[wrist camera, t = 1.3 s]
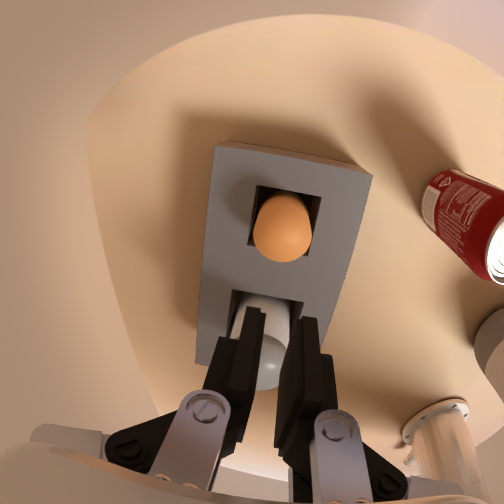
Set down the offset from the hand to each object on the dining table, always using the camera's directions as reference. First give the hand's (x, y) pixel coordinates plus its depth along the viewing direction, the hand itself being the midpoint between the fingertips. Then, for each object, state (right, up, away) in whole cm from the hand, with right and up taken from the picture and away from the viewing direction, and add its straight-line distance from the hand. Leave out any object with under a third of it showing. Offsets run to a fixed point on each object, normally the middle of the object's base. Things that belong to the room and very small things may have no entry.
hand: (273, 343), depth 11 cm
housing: (+1, +1, +20) cm, 20 cm away
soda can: (+18, +9, +15) cm, 25 cm away
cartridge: (+1, -1, +22) cm, 22 cm away
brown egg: (+2, +7, +15) cm, 16 cm away
